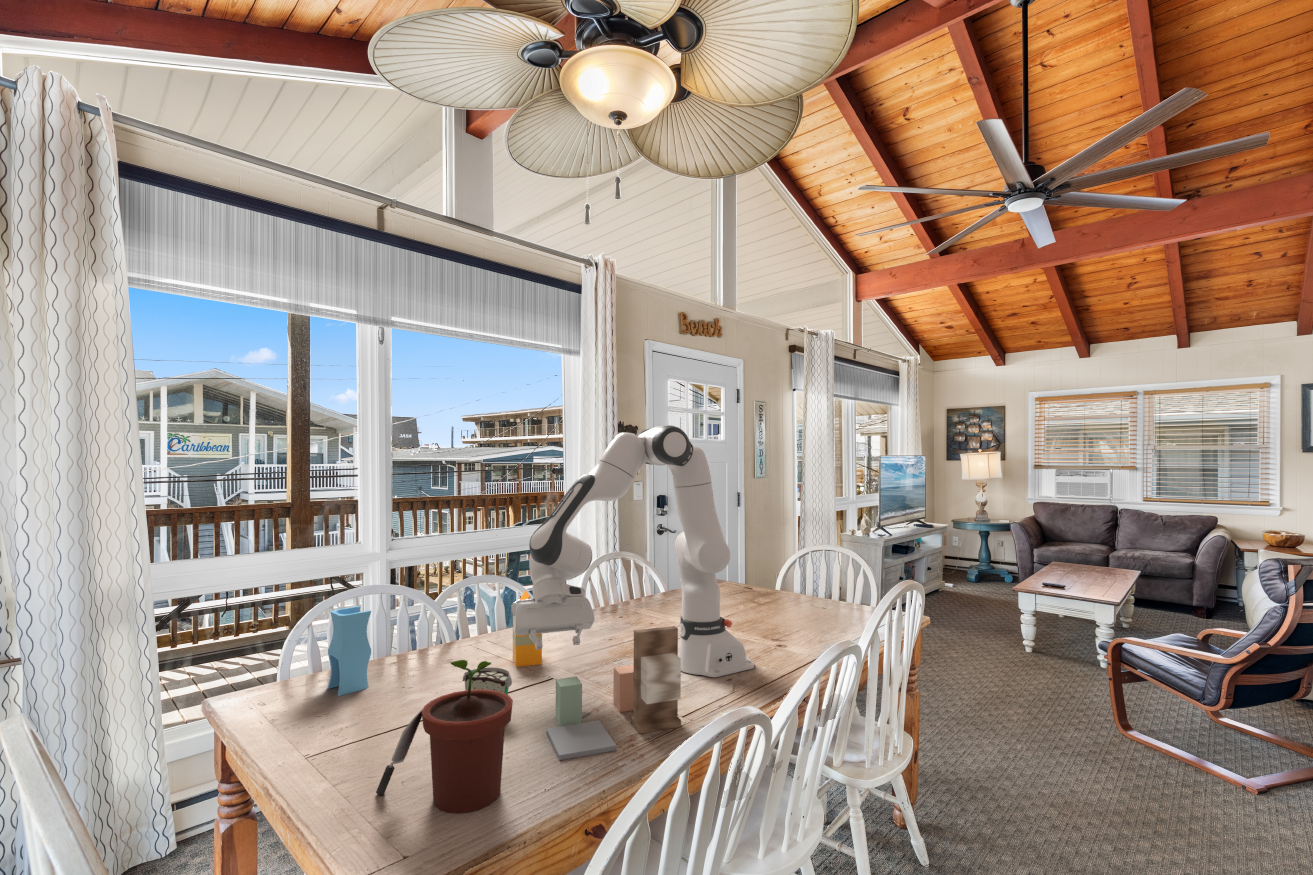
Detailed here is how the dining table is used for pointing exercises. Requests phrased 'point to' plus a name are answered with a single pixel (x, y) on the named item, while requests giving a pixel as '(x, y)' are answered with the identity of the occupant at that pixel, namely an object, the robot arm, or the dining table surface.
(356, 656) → the vase
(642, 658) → the wall stand
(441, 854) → the dining table surface
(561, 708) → the green block
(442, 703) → the potted plant
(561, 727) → the grey board
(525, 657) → the orange juice
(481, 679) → the food container
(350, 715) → the dining table surface
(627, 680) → the terracotta block
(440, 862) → the dining table surface
